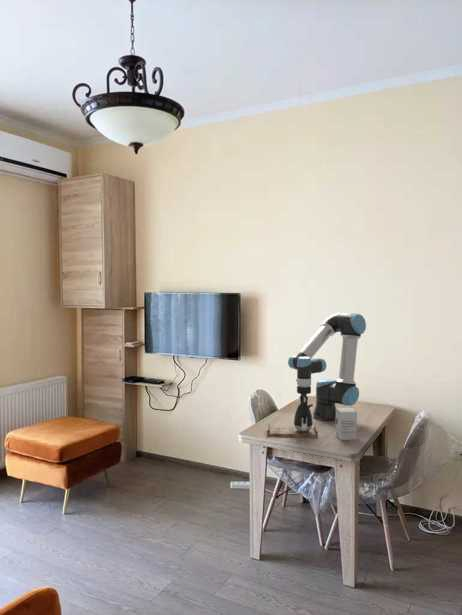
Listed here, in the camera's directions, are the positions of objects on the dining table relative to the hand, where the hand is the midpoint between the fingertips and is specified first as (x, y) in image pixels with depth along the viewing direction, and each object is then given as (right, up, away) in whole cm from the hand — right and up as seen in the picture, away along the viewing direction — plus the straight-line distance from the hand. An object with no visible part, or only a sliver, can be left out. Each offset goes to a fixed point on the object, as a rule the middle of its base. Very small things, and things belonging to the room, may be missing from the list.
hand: (303, 426), depth 260 cm
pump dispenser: (0, -3, 0) cm, 3 cm away
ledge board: (-6, -4, +1) cm, 7 cm away
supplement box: (+22, -5, -6) cm, 23 cm away
